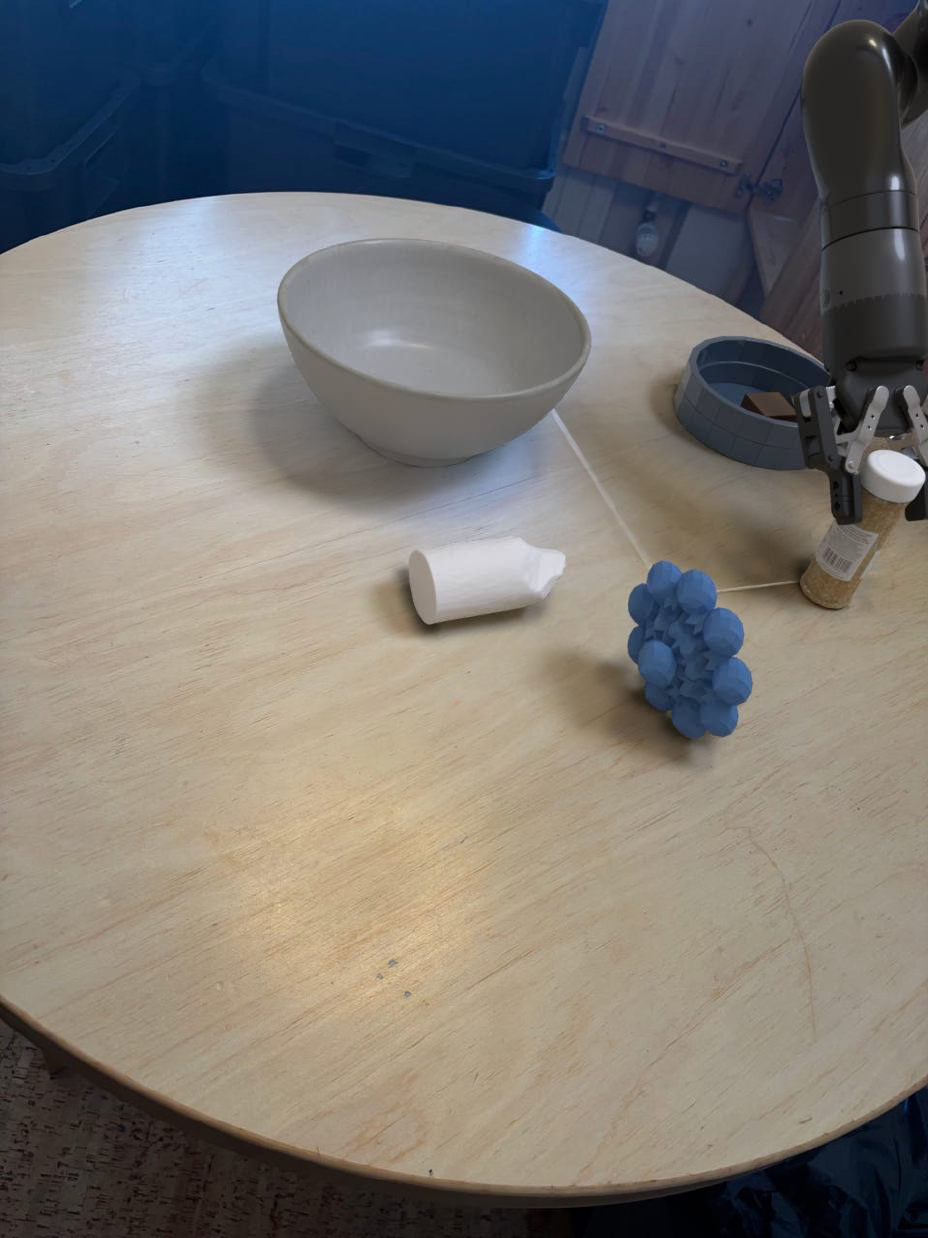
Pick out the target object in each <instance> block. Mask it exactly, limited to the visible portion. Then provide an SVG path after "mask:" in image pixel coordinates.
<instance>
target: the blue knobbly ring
mask: <svg viewBox="0 0 928 1238" xmlns="http://www.w3.org/2000/svg"><path fill="white" fill-rule="evenodd" d="M646 576H647V578H646V582H645V583H644V582H641V583H639V584H637V585H635V586H633V588H632V590H631V591H630V593H629V596H628V602H627V610H628V611H627V612H628V615H629V617H630V618H631V619H632V621H633V622H634V623H635V624H636V626H635V627H633V629H632V630H631V632H630V633H629V635H628V640H627V654H628V657H629V658H630V659H631V661H632V662H633V664H635V665H637V670H638V673H639V675H640V676H641V678H642V679H643V680H644V685H643V689H644V696H645V699H646V700H647V702H648V703H649V704H650V705H651V706H652V707H654V708H655V709H656V710H658V711H662V712H667V713H668V712H671V721H672V724H673V726H674V728H676V730H677V731H678V732H679V733H680V734H681V735H683V736H685V737H686V738H690V739H695V740H696V739H698V738H700V737H703V736H705V734H706V732H708V733H710V734H711V735H712V736H714V737H718V738H725V737H727V736H730V735H732V734H733V732H735V730H736V728H737V726H738V722H739V709H738V706H741V705H742V704H744V703H746V702H747V701H748V699H749V698H750V696H751V695H752V690H753V685H754V684H753V683H754V682H753V675H752V671H751V670H750V669H749V667H748V666H747V664H746V663H745V662H744V661H742V660H741V659H739V658H738V657H737V656H736V655H738V654H739V652H740V650H741V649H742V647H743V646H744V639H745V631H744V625H743V624H744V623H743V622H742V620H741V619H740V618H739V616H738V615H737V614H736V613H735V612H733V611H732V610H730V609H729V608H726V607H719V606H717V600H718V592H717V586H716V584H715V583H714V581H713V579H712V578H711V576H709V575H708V574H707V573H705V572H704V571H703V570H700V569H693V568H691V569H689V570H687V571H684V572H682V571H681V569H680V568H679V567H678V566H677V565H676V564H674V563H673V562H672V561H668V560H659V561H657V562H656V563H654V564H652V566H651V567H650V569H649V571H648V573H647V575H646ZM716 606H717V607H716Z"/></svg>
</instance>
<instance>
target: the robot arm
mask: <svg viewBox="0 0 928 1238" xmlns="http://www.w3.org/2000/svg"><path fill="white" fill-rule="evenodd" d="M799 84H800V85H799V104H800V105H799V107H800V116H801V123H802V129H803V133H804V140H805V142H806V147H807V152H808V157H809V161H810V165H811V170H812V173H813V177H814V181H815V185H816V190H817V195H818V225H819V228H818V229H819V242H820V269H819V270H820V271H819V279H818V280H819V282H818V283H819V285H818V286H819V289H818V290H819V305H820V320H821V322H820V323H821V338H822V355H823V358H822V359H823V365H824V368H825V370H826V371H827V372H828V373H830V379H829V382H828V385H827V387H826V388H825V387H823V386H817V387H814V388H811V389H808V390H805V391H802V392H799V393H797V394H795V396H794V397H793V398H792V401H793V404H794V407H795V413H796V418H797V424H798V429H799V435H800V441H801V446H802V452H803V457H804V463H805V466H806V467H807V468H806V469H808V470H817V471H820V472H823V473H824V474H825V475H826V476H827V477H828V481H829V482H828V483H829V498H830V513H831V515H832V517H833V519H834V518H836V522H837V524H838V525H851V524H859V523H861V522H862V519H863V511H862V493H861V476H860V474H858V473H856V472H857V471H859V469H860V465H861V461H862V458H863V456H864V452H865V450H866V449H867V448H868V446H870V445H871V443H872V441H873V439H874V437H875V438H878V439H885V441H886V444H887V446H888V448H889V450H891V451H895V452H898V453H901V454H903V455H905V456H907V457H909V458H911V459H913V460H914V461H915V462H917V463H918V464H919V465H920V466H921V468H922V469H923V470H924V473H925V482H924V484H923V485H922V487H921V489H920V491H919V492H918V494H917V496H916V497H915V498H914V499H913V500H912V501H911V502H910V503H909V504H908V505H907V506H906V508H905V510H904V519H905V520H906V521H907V522H920V521H928V380H927V378H926V375H925V373H924V364H925V361H926V359H927V358H928V293H927V277H926V263H925V257H924V253H923V249H922V242H921V235H920V233H921V232H920V231H921V230H920V215H919V213H920V212H919V197H918V186H917V179H916V174H915V172H914V169H913V168H914V167H913V166H912V164H911V161H910V160H909V158H908V156H907V154H906V151H905V148H904V144H903V139H902V133H904V131H906V130H907V129H909V128H910V127H911V126H913V124H914V123H916V122H917V121H918V120H919V119H920V118H921V117H922V116H923V115H925V113H926V112H927V111H928V0H919V1H918V3H917V5H916V7H915V8H914V9H913V10H912V11H911V12H910V14H909V15H908V16H907V17H906V18H905V19H904V20H903V21H902V22H901V24H900V25H899V26H898V27H897V28H896V29H895V30H894V31H893V32H892V33H891V32H890V31H889V30H888V29H887V28H885V27H883V26H882V25H881V24H879V23H876V22H874V21H871V20H868V19H850V20H847V21H846V20H845V21H844V22H841V23H838V24H837V25H835V26H833V27H831V28H830V29H829V30H828V31H826V32H825V33H824V34H823V35H822V36H821V37H820V38H819V39H818V40H817V41H816V42H815V44H814V46H813V47H812V49H811V50H810V52H809V54H808V56H807V59H806V60H805V63H804V66H803V69H802V73H801V78H800V83H799ZM832 409H834V411H835V412H836V414H837V415H838V418H837V421H836V424H835V427H834V428H833V423H832V417H831V410H832ZM909 430H911V432H908V431H909ZM907 432H908V433H907Z"/></svg>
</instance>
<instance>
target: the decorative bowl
mask: <svg viewBox="0 0 928 1238" xmlns="http://www.w3.org/2000/svg"><path fill="white" fill-rule="evenodd" d="M276 305H277V312H278V318H279V322H280V325H281V329H282V332H283V335H284V338H285V341H286V344H287V347H288V350H289V353H290V354H291V356H292V359H293V361H294V363H295V365H296V367H297V369H298V371H299V372H300V374H301V376H302V378H303V379H304V381H305V383H306V384H307V386H308V388H309V389H310V391H311V392H312V393H313V395H314V396H315V397H316V399H317V400H318V401H319V403H320V404H321V405H322V406H323V407H324V408H325V409H326V410H327V412H329V413H330V414H331V415H332V416H333V417H334V418H335V419H336V420H337V421H338V422H339V423H340V424H342V425H343V426H344V427H345V428H347V429H348V430H350V431H351V432H352V433H353V434H355V435H356V436H358V437H360V439H361V440H362V441H363V442H364V443H365V444H366V445H367V446H368V447H369V448H370V449H372V450H373V451H375V452H376V453H378V454H380V455H381V456H384V457H385V458H387V459H390V460H392V461H396V462H399V463H402V464H406V465H409V466H410V465H411V466H417V467H425V468H426V467H427V468H437V467H438V468H441V467H446V466H454V465H457V464H460V463H464V462H465V461H468V460H469V459H471V458H473V457H474V456H475V455H481V454H484V453H487V452H490V451H493V450H496V449H498V448H500V447H503V446H505V445H506V444H508V443H510V442H512V441H514V440H516V439H517V438H519V437H521V436H522V435H524V434H525V433H527V432H528V431H530V430H531V429H532V428H534V427H535V426H536V425H538V423H540V422H541V421H542V420H543V419H544V418H545V417H546V416H548V415H549V413H551V412H552V410H553V409H554V408H555V407H556V406H557V405H559V403H560V402H561V401H562V400H563V398H564V397H565V395H566V394H567V393H568V392H569V390H570V389H571V388H572V387H573V385H574V384H575V382H576V381H577V379H578V378H579V376H580V375H581V372H582V371H583V369H584V367H585V366H586V363H587V362H588V359H589V357H590V354H591V350H592V333H591V329H590V326H589V323H588V321H587V319H586V317H585V315H584V314H583V312H582V311H581V309H580V308H579V307H578V305H577V304H576V303H575V302H574V301H573V299H571V298H570V297H569V296H568V295H567V294H566V292H564V291H563V290H562V289H560V288H559V287H558V286H556V285H555V284H554V283H552V282H551V281H549V280H547V279H546V278H544V277H543V276H541V275H540V274H538V273H536V272H534V271H532V270H530V269H529V268H526V267H524V266H522V265H520V264H518V263H515V262H513V261H511V260H509V259H506V258H503V257H501V256H498V255H495V254H492V253H490V252H486V251H482V250H478V249H476V248H473V247H472V248H471V247H468V246H463V245H458V244H455V243H448V242H443V241H438V240H437V241H436V240H430V239H419V238H403V237H385V238H367V239H359V240H358V239H357V240H351V241H346V242H342V243H337V244H333V245H330V246H327V247H324V248H321V249H319V250H317V251H314V252H312V253H309V254H308V255H306V256H305V257H303V258H301V259H300V260H299V261H297V262H296V263H295V264H294V265H292V266H291V267H290V268H289V269H288V271H287V272H286V273H285V274H284V275H283V277H282V279H281V281H280V283H279V286H278V289H277V294H276Z"/></svg>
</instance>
